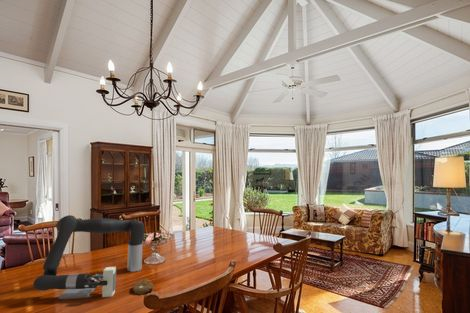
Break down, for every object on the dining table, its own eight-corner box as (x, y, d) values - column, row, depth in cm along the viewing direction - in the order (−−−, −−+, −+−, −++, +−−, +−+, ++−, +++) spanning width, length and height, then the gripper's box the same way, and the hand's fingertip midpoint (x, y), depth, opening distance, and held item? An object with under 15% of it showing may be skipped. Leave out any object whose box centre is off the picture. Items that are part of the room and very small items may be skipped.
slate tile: (70, 287, 152) (70, 285, 152) (96, 286, 155) (96, 284, 155) (58, 299, 138) (58, 296, 139) (87, 297, 141) (87, 295, 141)
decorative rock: (131, 286, 156) (133, 298, 143) (130, 279, 156) (133, 290, 143) (151, 282, 161) (155, 293, 148) (150, 275, 161) (155, 285, 148)
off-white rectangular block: (105, 292, 146) (106, 267, 147) (115, 292, 147) (116, 266, 148) (102, 297, 141) (103, 270, 142) (112, 296, 142) (114, 270, 143)
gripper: (72, 279, 135) (105, 277, 138) (83, 269, 149) (113, 268, 152) (71, 294, 135) (105, 292, 138) (82, 282, 149) (113, 281, 152)
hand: (109, 279), depth 145 cm, fingers open, 8 cm apart
